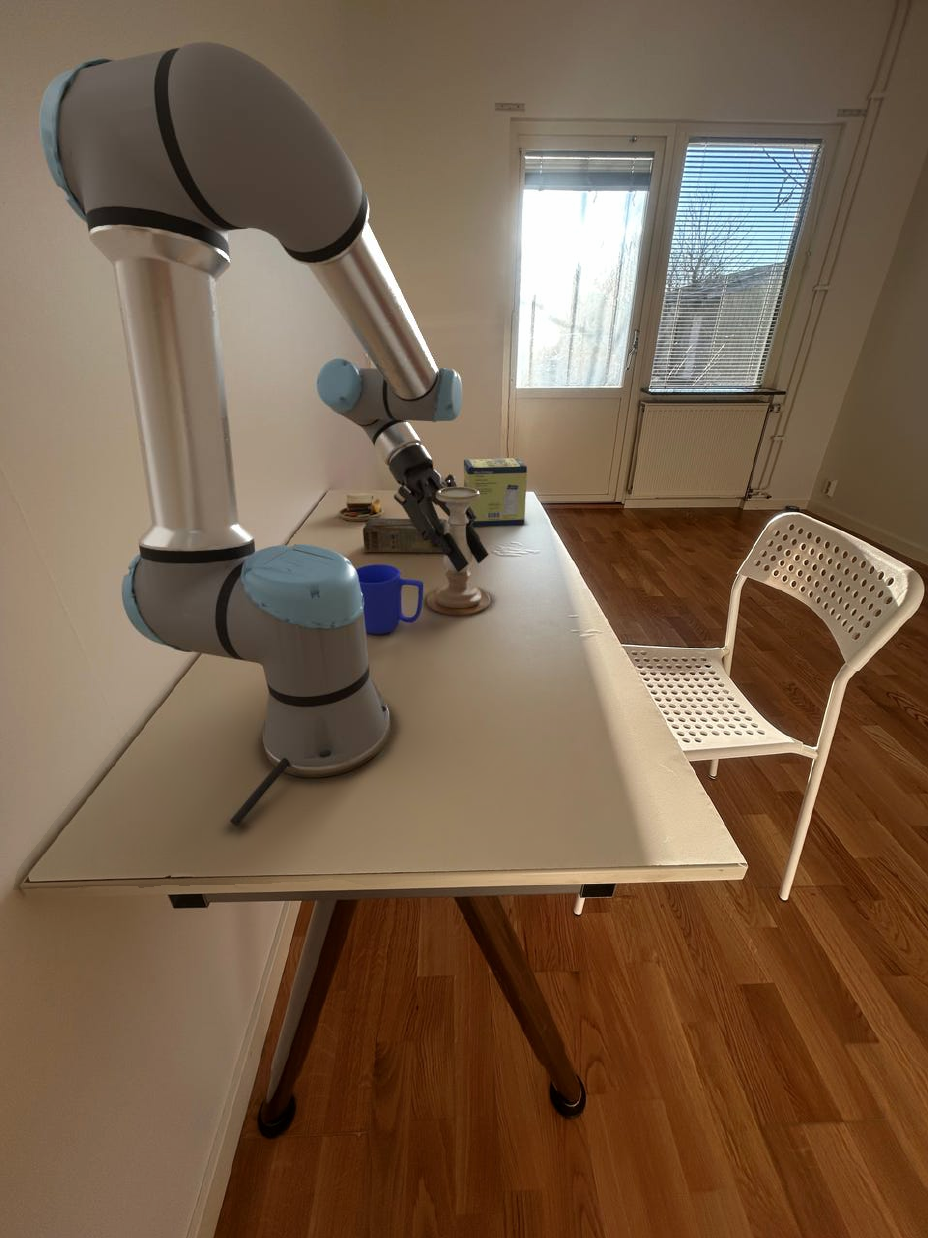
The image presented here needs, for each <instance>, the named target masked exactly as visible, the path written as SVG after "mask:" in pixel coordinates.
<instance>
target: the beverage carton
mask: <svg viewBox="0 0 928 1238" xmlns="http://www.w3.org/2000/svg"><path fill="white" fill-rule="evenodd" d="M439 520H440V522H441V525H442V527H443V530H444V535H445V534H446V533H448V532H447V525H448V523H447V520H446V519H443V518H439ZM362 537H363V546H364V553H418V554H419V553H421V554H422V553H425V554H428V553H429V554H433V553H435V554H439V553H441V554H443V552H442V551H441V549H440V547H439V546H438V544H437V543H435V544H432V543H431V542H430V540H428V541H424V540H423V538H422V537H421V535H420V534H419V532H418V531H417V529H416V527H415V526H414V524H413V523H412V521H411V519H410V518H394V517H393V518H391V517H390V518H389V517H387V518H386V517H378V518H369V519H368V520H367V521H366V522H365V525H364V527H363V528H362Z"/></svg>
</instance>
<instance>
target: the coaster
mask: <svg viewBox="0 0 928 1238" xmlns="http://www.w3.org/2000/svg"><path fill="white" fill-rule="evenodd" d="M478 589H479V590H480V592H481V595H482V597H481V601H480V602H479V603H478V604H476V605H474V606H472V607H468V608H449V607H445V606H442V605H440V604H439V603H437V601H436V599H435V593H436V591H437V590H438V589H435V590H433V591H431V592H430V593H429V594H428V596H427V597H426V604H427V606H428V607H429V609H431V610H432V611H434V612H435V613H439V614H442V615H447V616H455V617H457V616H458V617H459V616H469V615H474V614H478V613H480V612H483V611H484V610H486V609H487V608H488V607H489V606H490V604H491V598H490V595H489V594H488V592H486V591H485V590H482V589H480V588H478Z"/></svg>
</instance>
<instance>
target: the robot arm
mask: <svg viewBox="0 0 928 1238" xmlns="http://www.w3.org/2000/svg"><path fill="white" fill-rule="evenodd" d="M40 102H41V103H40V107H39V117H38V118H39V123H38V124H39V125H38V126H39V137H40V143H41V148H42V152H43V156H44V159H45V162H46V164H47V167H48V170H49V173H50V175H51V177H52V179H53V181H54V183H55V185H56V186H57V187H58V188H62V190H63V191H64V192H65V194H66V196H65V197H64V199H65V201H66V202H67V204H68V205H69V206H70V208H71V209H72V210H73V212H74V213H75V214H76V215H77V216H78V217H79V218H80V219H81V220H82V221H83V222H85V223H86V224H87V230H88V237H89V240H90V242H91V243H92V244H93V245H94V247H95V248H96V249H98V251H99V252H100V253H102V255H103V256H105V258H106V259H107V260H108V261H109V262H110V263H111V265H112V267H113V272H114V278H115V285H116V286H115V287H116V292H117V299H118V305H119V312H120V318H121V319H120V320H121V326H122V332H123V333H122V334H123V340H124V346H125V351H126V359H127V365H128V372H129V373H128V374H129V379H130V386H131V392H132V393H131V394H132V400H133V406H134V411H135V412H134V413H135V419H136V424H137V433H138V439H139V445H140V446H139V447H140V453H141V459H142V467H143V473H144V477H145V478H144V479H145V486H146V494H147V498H148V499H147V500H148V507H149V512H150V519H151V523H150V525H149V528H148V529H147V530H146V531H145V532H144V533H143V534H142V535H141V536H140V537H139V538H138V548H139V554H137V555H136V556H135V557H134V558H133V559H132V560H131V561H130V563H129V564H128V567H127V569H128V570H129V572H128V573H126V574H124V575H123V577H122V582H121V600H122V605H123V609H124V611H125V614H126V616H127V618H128V620H129V622H130V623H131V625H132V626H133V627H134V629H135V630H136V631H137V632H138V633H140V634H141V635H142V636H143V637H144V638H146V639H148V640H149V641H151V642H153V643H155V644H157V645H162V646H166V647H169V648H172V649H174V651H175V650H176V651H179V652H185V653H198V654H205V655H210V656H215V657H221V658H227V659H232V660H238V661H244V662H250V663H255V664H259V665H260V666H262V669H263V673H264V677H265V681H266V686H267V691H268V696H267V697H268V698H267V703H266V704H267V705H266V712H265V719H264V723H263V726H262V743H263V747H264V752H265V754H266V755H265V756H266V757H267V759H268V760H269V762H270V763H271V764H272V765H273V766H274V768H273V769H272V770H271V771H270V772H269V774H267V776H266V777H265V778H264V779H263V780H262V782H261V783H260V784H259V785H258V786H257V787H256V789H255V790H254V791H253V792H252V794H251V795H250V796H249V797H248V798H247V799H246V801H245V802H244V803H243V804H242V806H241V807H240V808H239V809H238V810H237V811H236V813H235V814H234V815H233V816H232V817H231V819H230V820H229V822H230V823H231V824H232V825H233V826H235V827H239V825H240V824H241V823H242V821H243V820H244V819H245V818H246V816H248V814H249V813H250V812H251V811H252V809H253V808H254V806H255V805H256V804H257V803H258V802H259V801H260V799H261V798H262V797H263V796H264V795H265V793H266V792H267V790H269V789H270V787H271V786H272V785H273V784H274V783H275V782H276V780H277V779H278V778H279V777H280V776H281V774H282V773H283V772H284V773H286V774H288V775H292V776H295V777H302V778H324V777H325V778H327V777H331V776H336V775H341V774H343V773H346V772H349V771H351V770H354V769H356V768H358V767H361V766H362V765H363V764H365V763H367V762H368V761H370V760H371V759H373V758H374V757H375V756H376V755H377V754H378V753H379V752H380V751H381V750H382V749H383V747H384V746H385V745H386V743H387V741H388V739H389V736H390V732H391V717H390V712H389V711H390V710H389V708H388V705H387V703H386V702H385V701H386V700H385V699H384V698H383V696H382V694H381V691H380V690H379V688H378V686H377V684H376V682H375V680H374V679H373V676H372V675H371V671H370V661H369V660H370V659H369V652H368V650H369V649H368V642H367V632H366V630H365V620H364V610H363V609H364V598H363V595H362V592H361V588H360V583H359V578H358V574H357V572H356V569H357V568H355V567H354V566H353V564H352V562H351V561H350V560H349V559H348V558H347V557H345V556H344V555H342V554H340V553H339V552H336V551H335V550H332V549H329V548H327V547H322V546H317V545H311V544H303V543H302V544H301V543H296V544H294V545H290V546H289V545H286V544H280V545H273V546H268V547H264V548H262V549H259V550H256V543H255V536H254V534H252V533H251V532H250V531H248V529H246V528H245V527H244V526H243V525H242V524H241V523H240V521H239V514H238V503H237V493H236V492H237V491H236V483H235V482H236V481H235V472H234V462H233V461H234V460H233V450H232V441H231V440H232V439H231V430H230V419H229V409H228V400H227V387H226V378H225V368H224V356H223V348H222V336H221V327H220V316H219V315H220V314H219V306H218V305H219V304H218V295H217V294H218V293H217V285H216V284H217V282H218V280H219V278H220V277H222V275H223V274H224V273H225V272H226V271H227V270H228V269H229V268H230V266H231V257H230V244H229V232H230V231H235V230H236V231H237V230H247V229H254V230H260V231H262V232H265V233H267V234H269V235H270V236H271V237H274V238H275V239H277V241H278V242H279V244H280V245H281V246H282V248H283V249H284V251H285V252H286V254H287V255H288V256H289V257H290V258H291V259H292V260H294V261H295V262H297V263H299V264H302V265H305V266H308V268H309V270H310V271H311V272H312V274H313V275H314V276H315V279H316V280H317V282H318V283H319V285H320V286H321V287H322V289H323V290H324V291H325V293H326V295H327V296H328V298H329V299H330V300H331V303H333V306H335V308H336V310H337V311H338V312H339V314H340V316H341V317H342V318H343V320H344V322H345V323H346V325H347V326H348V327H349V329H350V330H351V332H352V333H353V335H354V337H356V339H357V341H358V342H359V343H360V345H361V346H362V349H363V350H364V351H365V352H366V354H367V356H368V357H369V358H370V360H371V362H372V363H373V364H374V366H375V367H376V368H375V367H373V368H372V367H371V368H369V367H359V366H357V365H356V364H355V363H353V362H351V361H349V360H348V359H344V358H333V359H331V360H329V361H327V362H325V364H324V365H323V366H322V367H321V369H320V370H319V372H318V375H317V379H316V380H317V381H316V390H317V394H318V396H319V398H320V400H321V401H322V403H324V404H325V405H326V406H327V407H329V408H330V409H331V411H333V412H334V413H336V414H338V415H341V416H342V417H344V418H346V419H348V420H349V421H351V422H352V423H354V424H355V425H357V426H359V427H360V428H362V430H363V431H364V432H365V433H366V435H367V437H368V439H370V441H371V443H372V444H373V446H374V448H375V450H376V451H377V453H378V454H379V456H380V457H381V459H382V460H383V462H384V463H385V465H386V466H388V470H389V472H390V474H391V475H392V476H393V478H394V480H395V481H396V483H397V484H398V485H400V487H399V488H398V489H397V490H396V492H395V494H394V495H393V499H394V501H396V502H397V503H398V504H399V505H400V506H401V507H402V509H403V510H404V512H405V513H406V515H407V516H408V519H411V521H412V523H413V524H414V526H415V527H416V529H417V531H418V532H419V534H420V535H421V537H422V538H423V540H424V541H428V540H430V542H431V543H432V544H435V543H437V544H438V546H439V547H440V549H441V551H442V552H443V553H442V554H443V556H444V555H445V556H448V558H449V559H450V561H451V562H452V564H453V565H454V567H455V569H456V570H457V572H460V571H461V570H462V569H464V568H465V567H466V566H467V565H468V564H469V563H468V562H467V560H466V558H465V557H464V555H463V554H462V552H461V551H460V549H459V547H458V546H457V544H456V543H455V541H454V540H453V538H452V536H451V535H450V532H447V533H446V534H445V535H444V530H443V527H442V525H441V522H440V520H439V519H440V517H439V515H438V513H437V510H436V508H435V506H438V507H439V508H440V509H441V510H442V511H443V512H444V514H446V515H447V517H448V518H449V517H450V511H449V509H448V508H447V507H446V502H443V501H440V500H438V499H436V492H437V491H438V490H439V489H442V488H447V487H458V485H457V482H456V480H455V476H454V475H452V474H450V473H449V474H448V475H447V476H441V474H440V473H439V472H438V471H436V470H435V468H434V460H433V459H432V457H431V455H430V453H429V452H428V450H427V449H426V448H425V446H424V445H423V444H422V441H421V439H420V438H419V437H418V435H417V433H416V432H415V430H414V429H413V427H412V426H411V424H410V422H409V421H419V422H432V423H436V422H452V421H454V420H456V419H457V418H458V416H459V415H460V412H461V409H462V403H463V384H462V379H461V376H460V374H459V372H458V371H456V370H455V369H451V368H445V367H441V368H438V366H437V364H436V361H434V359H433V356H432V355H431V352H430V350H429V348H428V346H427V344H426V341H425V340H424V338H423V335H422V333H421V331H420V329H419V328H418V325H417V323H416V320H415V319H414V316H413V313H412V312H411V310H410V308H409V306H408V304H407V301H406V300H405V298H404V295H403V293H402V291H401V289H400V287H399V285H398V283H397V280H396V278H395V276H394V275H393V272H392V269H391V268H390V266H389V264H388V262H387V260H386V258H385V256H384V253H383V251H382V250H381V249H382V248H381V247H380V245H379V242H378V241H377V238H376V237H375V234H374V232H373V230H372V228H371V226H370V224H369V222H368V221H369V217H370V216H369V214H370V204H369V203H370V202H369V198H368V195H367V193H366V191H365V189H364V186H363V184H362V182H361V180H360V178H359V176H358V173H357V172H356V169H355V167H354V165H353V163H352V162H351V160H350V158H349V157H348V155H347V154H346V152H345V150H344V149H343V147H342V146H341V144H340V142H339V141H338V139H337V138H336V137H335V135H334V134H333V132H331V130H330V129H329V127H328V126H327V125H326V124H325V122H324V121H323V120H322V119H321V117H320V116H319V114H318V113H317V112H315V110H314V109H313V108H312V107H311V106H310V104H309V103H307V101H306V100H305V99H304V98H303V97H302V95H300V94H299V93H298V92H297V91H296V90H295V89H294V88H293V87H292V86H290V84H288V82H286V80H284V79H283V78H281V77H280V76H279V75H278V74H277V73H275V72H274V71H272V70H271V69H270V68H269V67H268V66H266V65H265V64H264V63H262V62H261V61H259V60H257V59H256V58H254V57H253V56H251V55H249V54H248V53H245V52H243V51H241V50H238V49H237V48H234V47H231V46H228V45H225V44H222V43H218V42H210V41H202V42H201V41H200V42H199V41H198V42H191V43H186V44H184V45H183V46H181V47H174V48H169V49H164V50H160V51H155V52H151V53H146V54H140V55H136V56H131V57H130V56H129V57H126V58H120V59H117V60H114V59H109V58H96V59H89V60H87V61H84V62H81V63H80V64H78V65H77V66H76V67H74V68H72V69H68V70H66V71H63V72H61V73H59V74H58V75H57V76H56V77H55V78H53V79H52V80H51V81H50V82H49V84H48V85H47V87H46V89H45V91H44V93H43V96H42V99H41V101H40ZM466 517H467V519H468V520H469V523H467V524H466V540H467V544H468V546H469V548H470V550H471V553H472V556H473V559H474V560H475V561H476V563H477V564H480V563H482V562H483V561H484V560H485V559H486V558H487V557H488V556H490V554H489V552H488V551H487V550H486V548H485V546H484V545H483V543H482V542H481V538H480V535H479V534H478V532H477V531H476V529H475V528H474V527H473V526H472V523H473V522H474V520H475V519H476V518H477V517H476V515H475V513H474V512H473V510H472V509H471V507H470V506H469V507H468V508H467V510H466Z"/></svg>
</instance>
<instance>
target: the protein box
mask: <svg viewBox="0 0 928 1238" xmlns="http://www.w3.org/2000/svg"><path fill="white" fill-rule="evenodd" d="M527 473H528V466H527V465H526V464H524V463H523V462H522V460H521V459H520V458H519V457H517V458H516V457H514V458H510V457H509V458H486V459H485V458H484V459H483V458H482V459H463V485H464V486H463V487H469V488H474V489H476V490H478V491H479V493H480V498H479V499H478V500H476V501H473V502H470V507H471V509H472V510H473V512H474V513H475V515H476V517H477V518H476V519H475V520H474V522H473V523H472V526H473V528H474V527H498V526H524V525H525V515H526V495H527Z"/></svg>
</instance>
